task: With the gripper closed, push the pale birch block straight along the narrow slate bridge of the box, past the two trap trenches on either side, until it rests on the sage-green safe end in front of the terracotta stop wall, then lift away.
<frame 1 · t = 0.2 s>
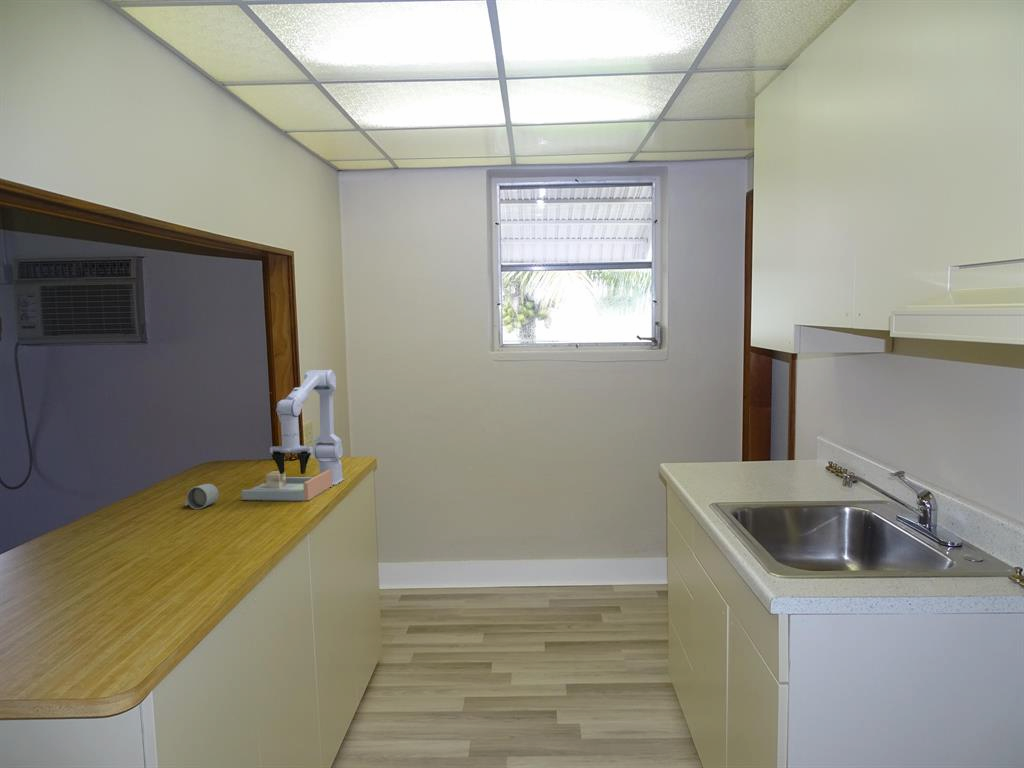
hand: (292, 473, 234), 10 cm above the worktop, tool pointing down, fingers open, 7 cm apart
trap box: (289, 493, 247), on the worktop
ceramic mug: (200, 507, 233), on the worktop
birch block: (276, 486, 247), point 2 cm above the worktop, touching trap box
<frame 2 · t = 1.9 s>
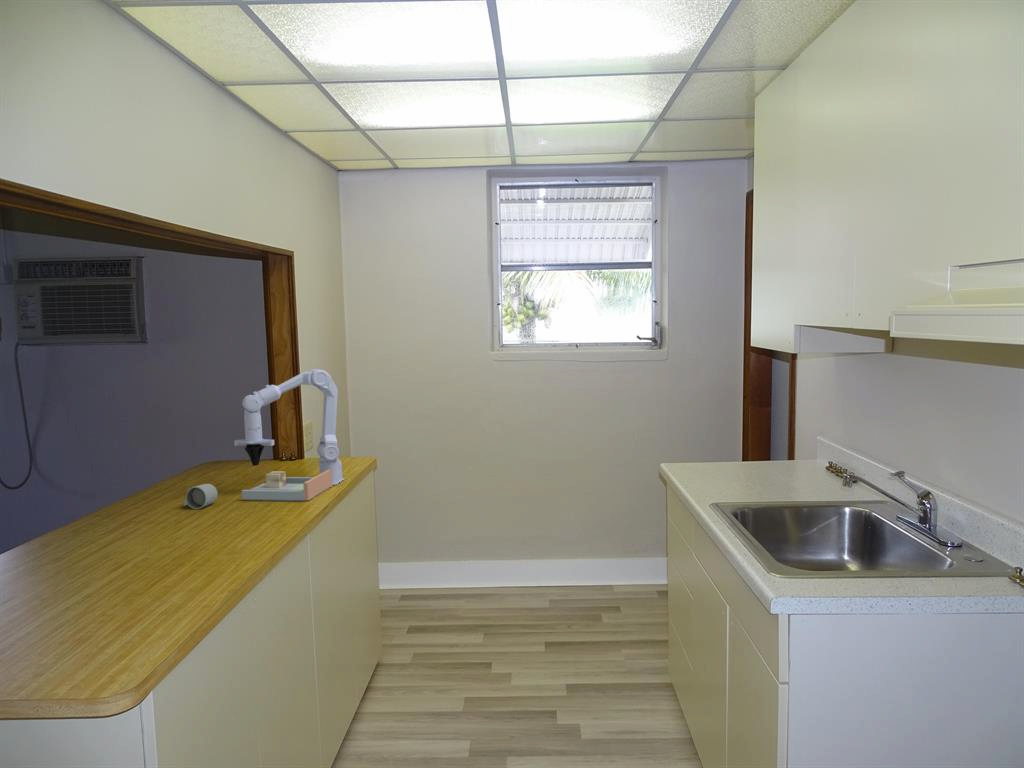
hand: (255, 465, 248), 10 cm above the worktop, tool pointing down, fingers closed
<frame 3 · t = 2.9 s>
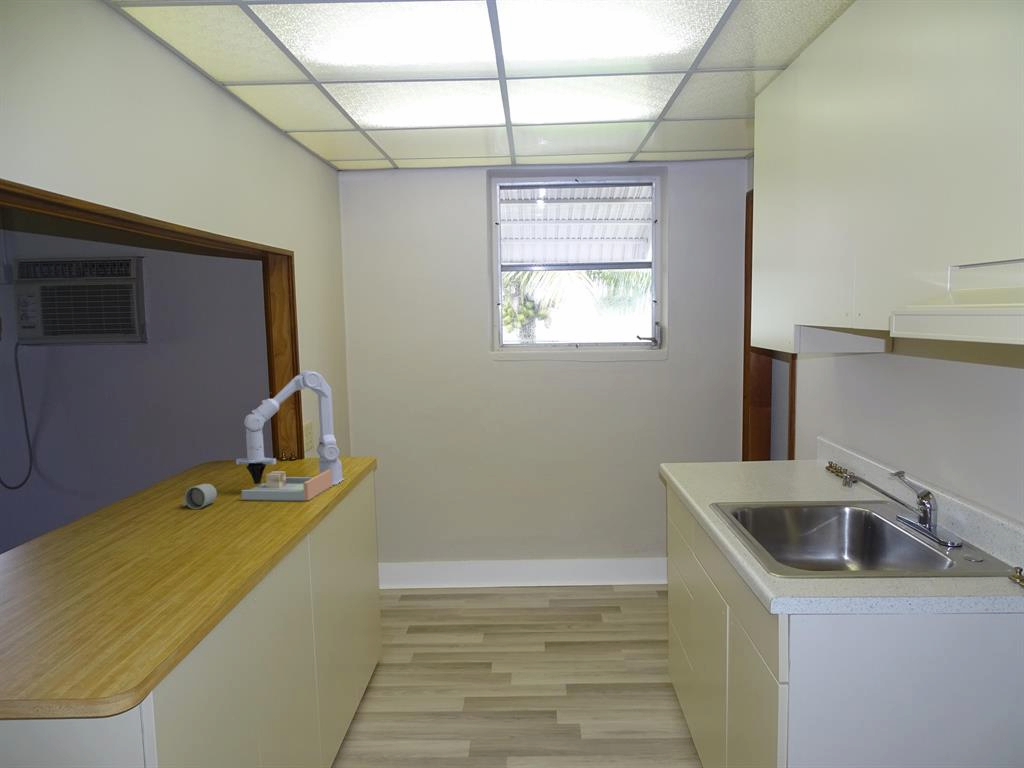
hand: (257, 483, 248), 3 cm above the worktop, tool pointing down, fingers closed
nothing on the worktop moved.
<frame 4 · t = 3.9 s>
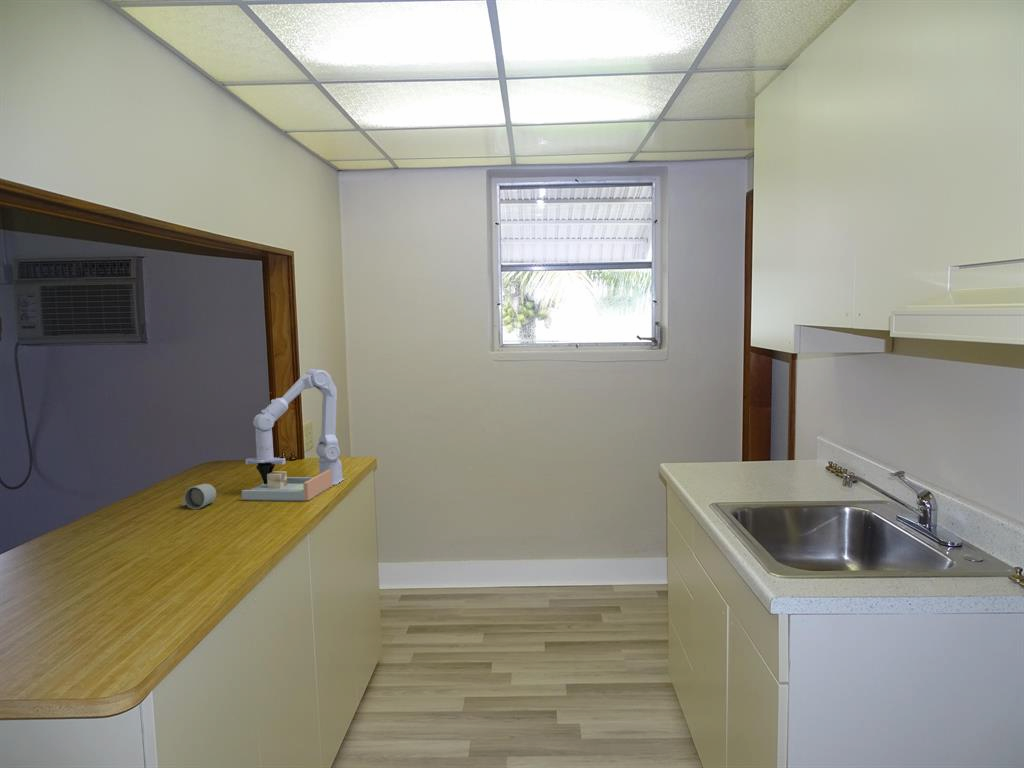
hand: (266, 483, 248), 4 cm above the worktop, tool pointing down, fingers closed
birch block: (277, 486, 247), point 3 cm above the worktop, touching gripper, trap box
everything else where it was.
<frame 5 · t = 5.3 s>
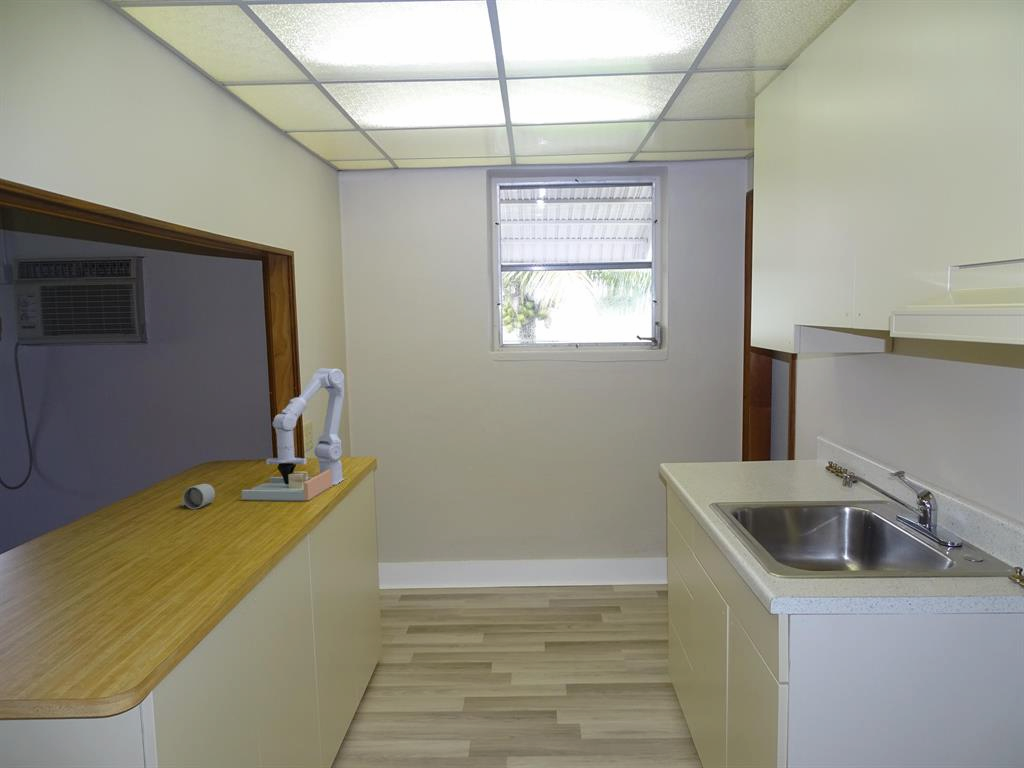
hand: (287, 483, 247), 4 cm above the worktop, tool pointing down, fingers closed
birch block: (298, 486, 246), point 3 cm above the worktop, touching gripper
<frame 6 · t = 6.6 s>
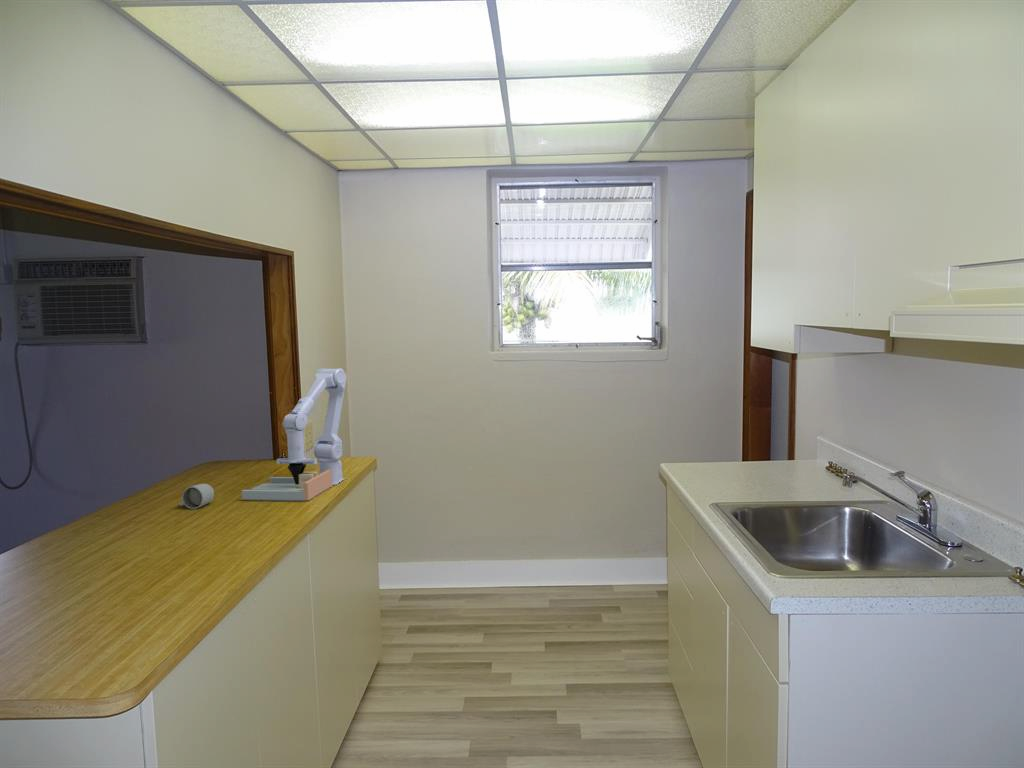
hand: (298, 483, 246), 4 cm above the worktop, tool pointing down, fingers closed
birch block: (309, 486, 245), point 3 cm above the worktop, touching gripper, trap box
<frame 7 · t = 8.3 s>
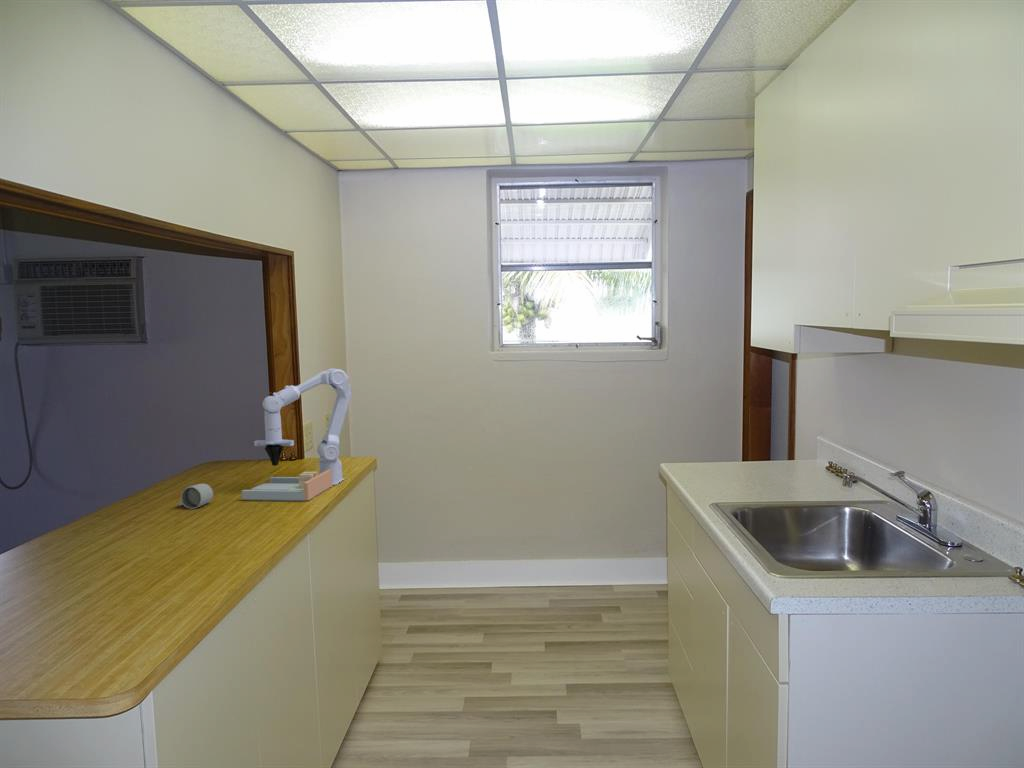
hand: (275, 465, 251), 9 cm above the worktop, tool pointing down, fingers closed
birch block: (309, 486, 245), point 2 cm above the worktop, touching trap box
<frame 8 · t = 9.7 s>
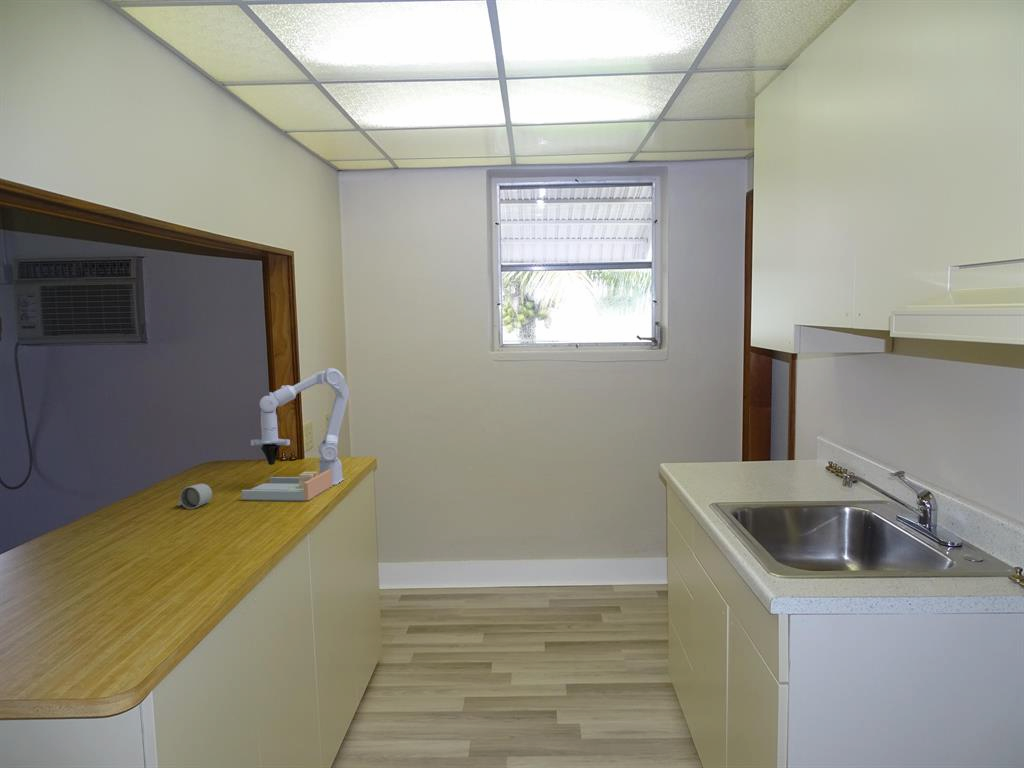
hand: (271, 464, 253), 9 cm above the worktop, tool pointing down, fingers closed
at the end: birch block 0.7 cm from the target spot, point 2.5 cm above the worktop; birch block tilted 0° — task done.
